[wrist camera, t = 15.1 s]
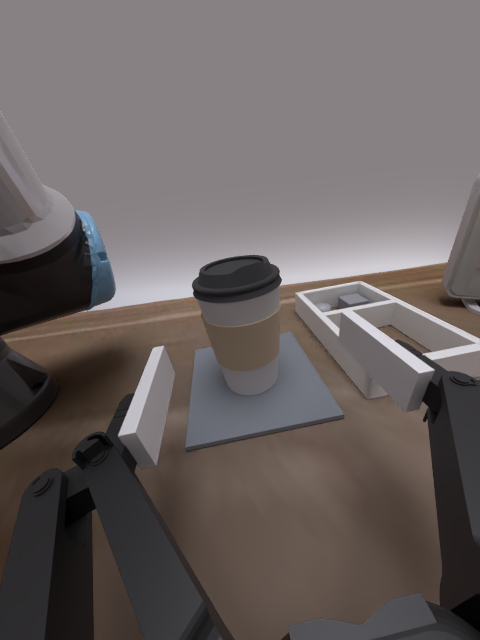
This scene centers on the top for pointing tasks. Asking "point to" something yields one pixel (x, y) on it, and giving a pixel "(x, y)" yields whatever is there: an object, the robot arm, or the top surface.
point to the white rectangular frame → (382, 310)
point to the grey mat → (256, 400)
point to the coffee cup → (242, 319)
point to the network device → (466, 256)
